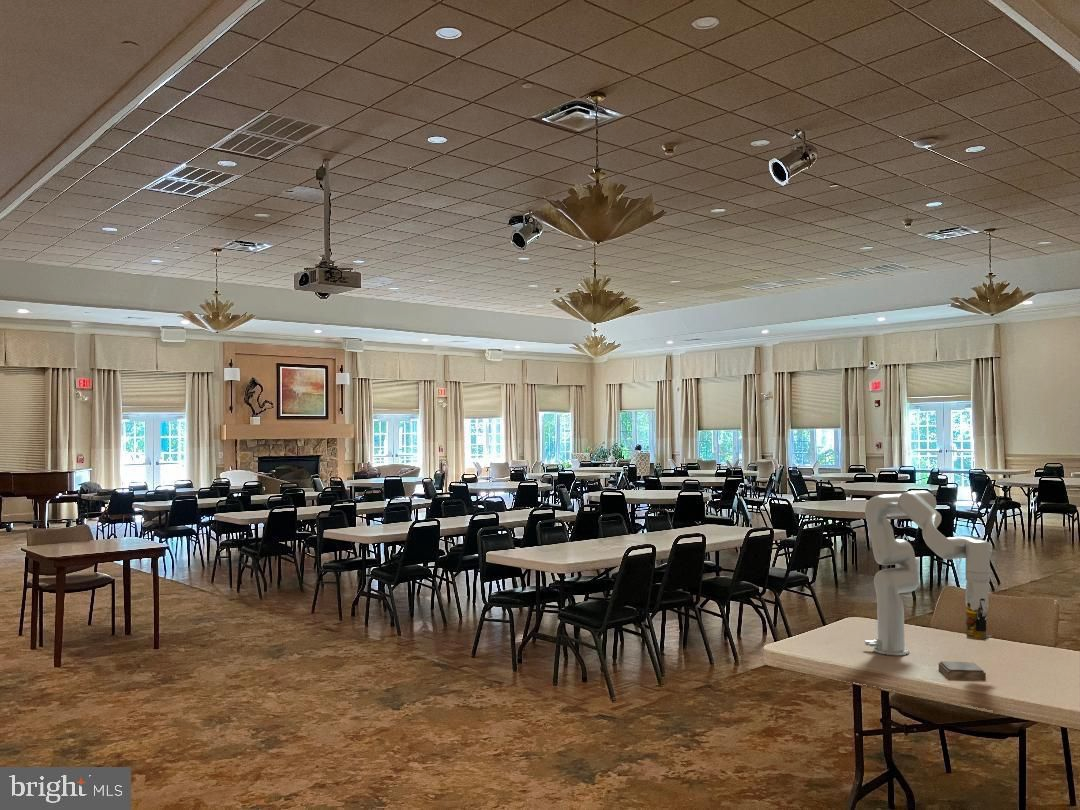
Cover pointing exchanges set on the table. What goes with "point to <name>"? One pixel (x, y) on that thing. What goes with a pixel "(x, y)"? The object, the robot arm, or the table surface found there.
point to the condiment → (973, 626)
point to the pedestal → (962, 670)
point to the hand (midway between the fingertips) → (977, 628)
